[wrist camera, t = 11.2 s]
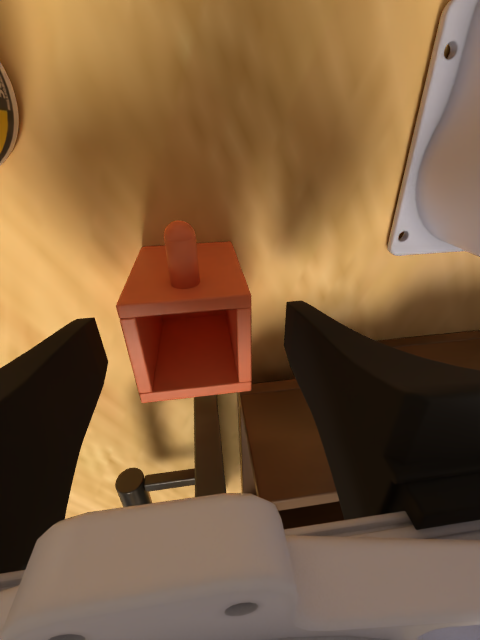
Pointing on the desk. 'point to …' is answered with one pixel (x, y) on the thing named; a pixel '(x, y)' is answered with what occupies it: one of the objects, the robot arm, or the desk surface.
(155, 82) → the desk surface
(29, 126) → the desk surface
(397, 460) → the robot arm
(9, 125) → the supplement bottle
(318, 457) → the drawer
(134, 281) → the scoop
